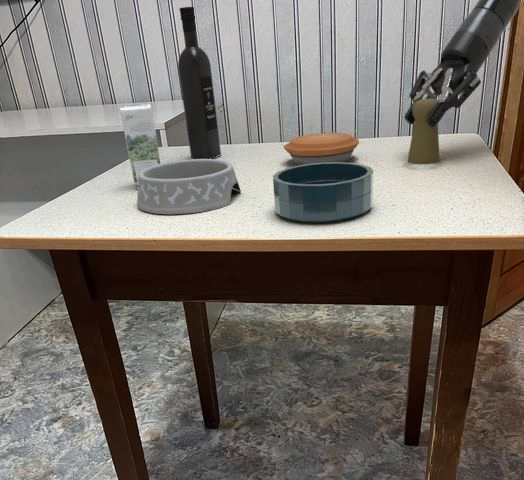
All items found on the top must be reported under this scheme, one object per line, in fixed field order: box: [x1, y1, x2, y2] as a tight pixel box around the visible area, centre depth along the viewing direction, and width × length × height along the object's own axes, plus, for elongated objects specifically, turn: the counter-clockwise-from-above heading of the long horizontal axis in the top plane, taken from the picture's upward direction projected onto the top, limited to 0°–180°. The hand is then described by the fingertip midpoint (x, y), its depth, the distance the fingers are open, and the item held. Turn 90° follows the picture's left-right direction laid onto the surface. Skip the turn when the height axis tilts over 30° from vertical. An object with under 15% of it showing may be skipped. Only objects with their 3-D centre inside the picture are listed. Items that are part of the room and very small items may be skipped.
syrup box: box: [119, 103, 162, 190], centre depth 102 cm, size 6×6×14 cm
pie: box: [283, 132, 360, 166], centre depth 111 cm, size 15×16×5 cm
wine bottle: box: [177, 6, 222, 159], centre depth 119 cm, size 6×6×30 cm
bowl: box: [272, 162, 374, 224], centre depth 80 cm, size 15×15×6 cm
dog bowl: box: [136, 158, 242, 215], centre depth 92 cm, size 17×18×5 cm
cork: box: [407, 98, 441, 165], centre depth 102 cm, size 6×6×11 cm
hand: (418, 122), depth 101 cm, fingers closed on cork, 5 cm apart
